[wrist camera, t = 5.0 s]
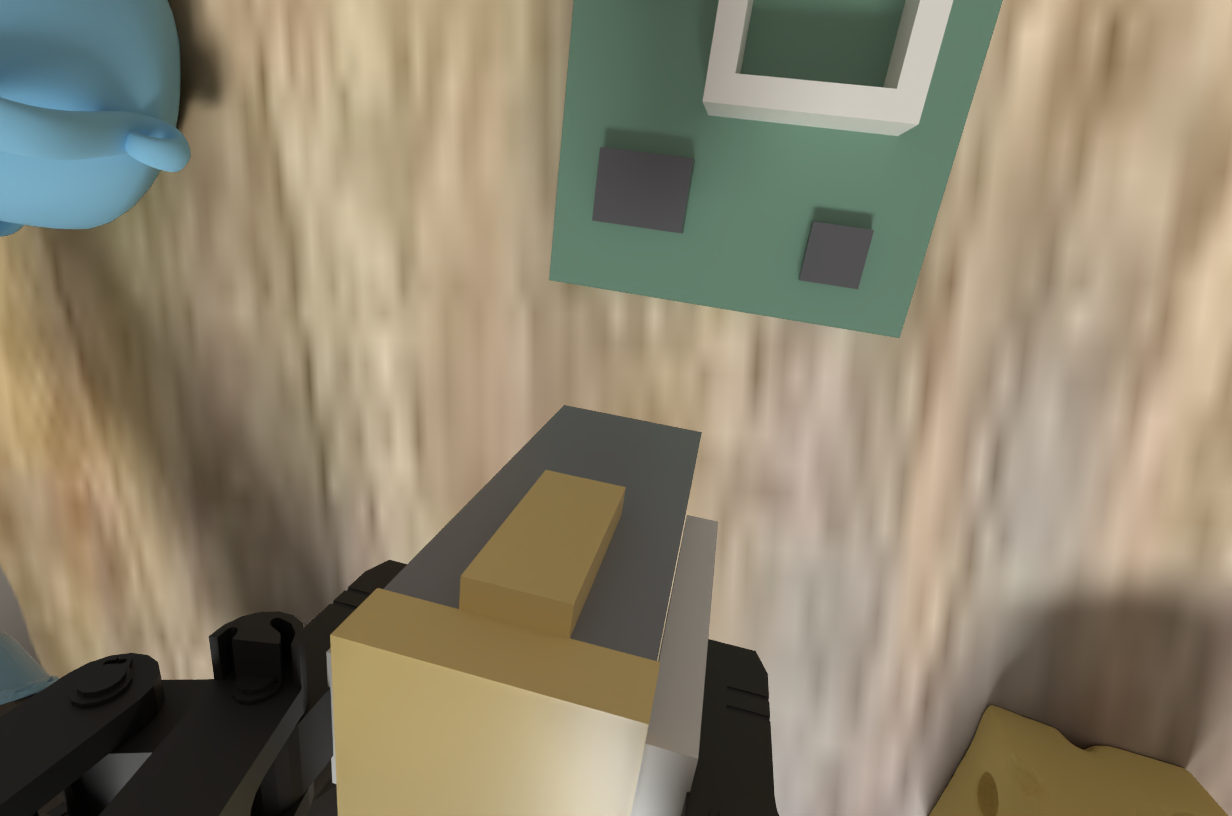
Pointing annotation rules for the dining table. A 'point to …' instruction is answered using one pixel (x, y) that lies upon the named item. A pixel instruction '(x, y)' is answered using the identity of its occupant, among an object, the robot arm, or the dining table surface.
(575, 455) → the plug
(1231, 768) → the dining table surface
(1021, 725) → the cheese
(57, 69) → the decorative pot
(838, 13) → the header board
